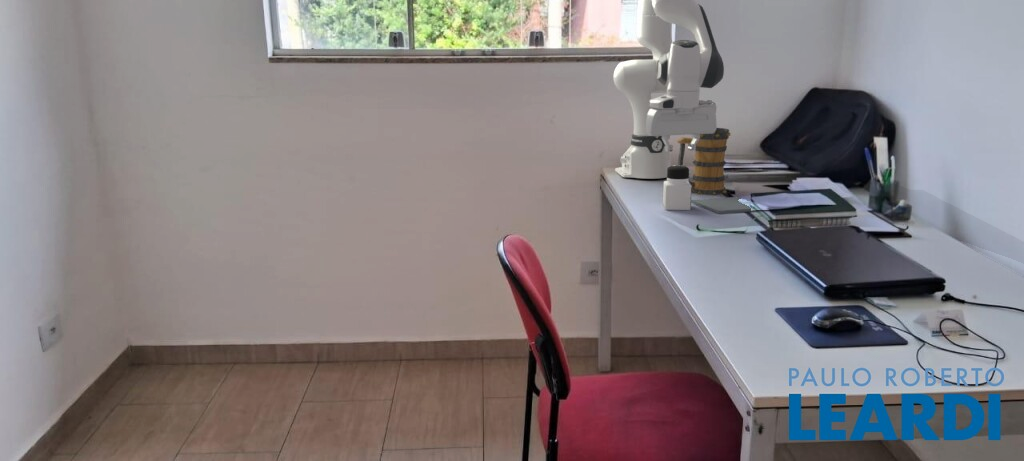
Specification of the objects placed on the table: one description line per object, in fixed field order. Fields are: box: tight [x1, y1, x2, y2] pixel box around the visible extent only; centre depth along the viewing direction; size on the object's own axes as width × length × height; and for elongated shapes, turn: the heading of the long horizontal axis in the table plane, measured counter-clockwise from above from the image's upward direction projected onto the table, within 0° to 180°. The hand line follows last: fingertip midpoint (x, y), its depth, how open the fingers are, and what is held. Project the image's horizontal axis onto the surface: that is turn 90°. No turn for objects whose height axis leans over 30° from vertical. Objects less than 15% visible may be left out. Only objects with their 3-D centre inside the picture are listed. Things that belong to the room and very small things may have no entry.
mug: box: [676, 127, 732, 196], centre depth 235 cm, size 13×17×20 cm
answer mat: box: [691, 196, 752, 215], centre depth 218 cm, size 16×16×1 cm
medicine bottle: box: [662, 164, 693, 211], centre depth 216 cm, size 7×7×12 cm
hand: (680, 150), depth 213 cm, fingers open, 6 cm apart
